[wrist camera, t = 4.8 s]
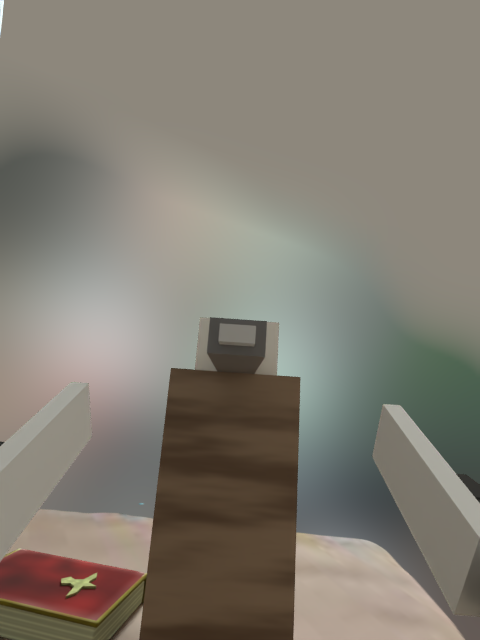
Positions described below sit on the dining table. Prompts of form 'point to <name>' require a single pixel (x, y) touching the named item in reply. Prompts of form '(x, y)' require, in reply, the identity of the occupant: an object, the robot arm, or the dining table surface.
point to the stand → (225, 510)
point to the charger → (237, 346)
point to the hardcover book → (64, 597)
